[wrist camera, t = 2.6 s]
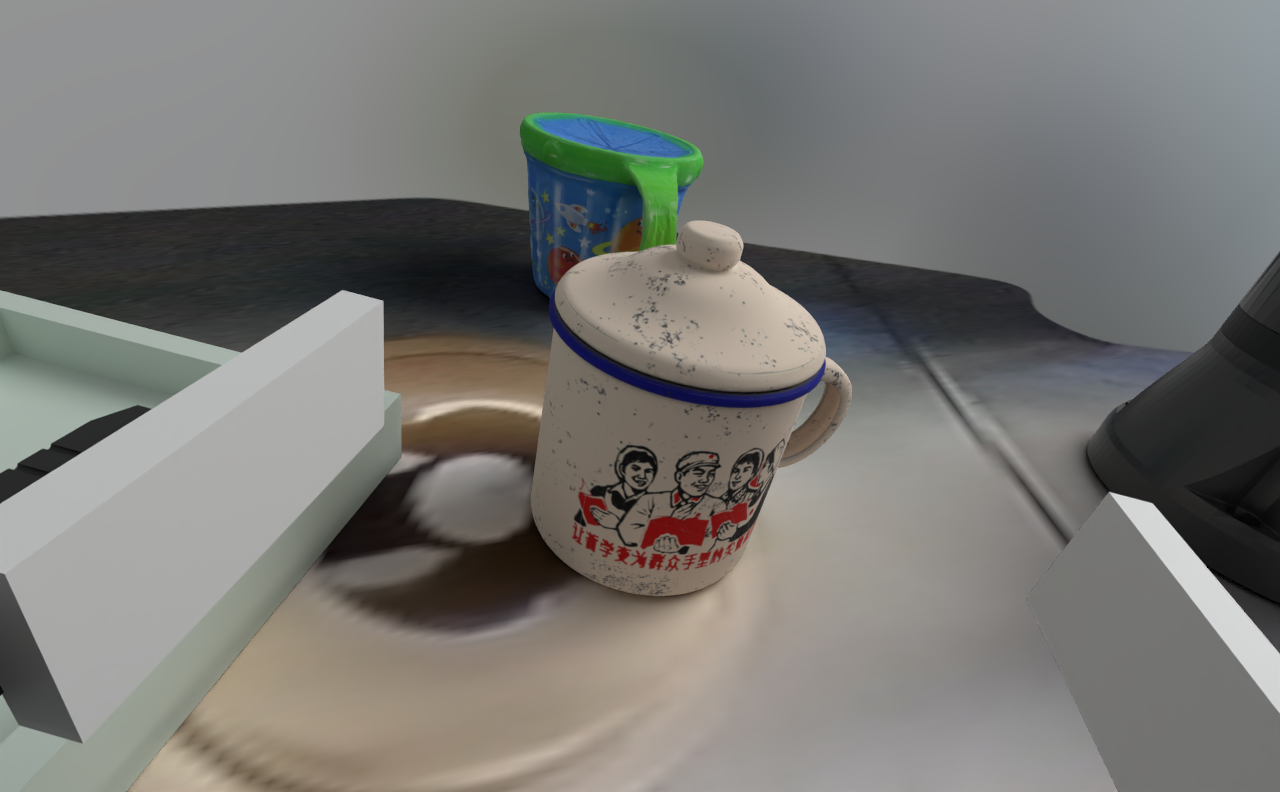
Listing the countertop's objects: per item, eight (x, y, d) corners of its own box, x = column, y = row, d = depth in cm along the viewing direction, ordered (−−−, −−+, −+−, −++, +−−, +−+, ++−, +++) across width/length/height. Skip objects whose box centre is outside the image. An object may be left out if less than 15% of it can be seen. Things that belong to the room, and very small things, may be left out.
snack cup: (491, 243, 46) (502, 92, 41) (626, 252, 50) (653, 116, 44) (531, 351, 34) (554, 158, 29) (705, 352, 38) (754, 182, 33)
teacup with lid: (543, 623, 20) (603, 283, 14) (509, 444, 27) (539, 167, 21) (856, 586, 24) (1009, 311, 18) (755, 439, 31) (840, 206, 25)
